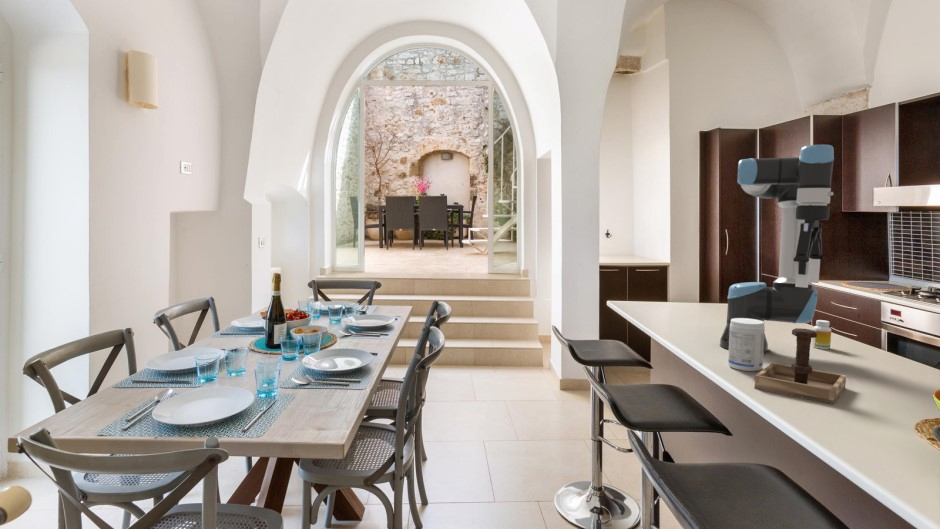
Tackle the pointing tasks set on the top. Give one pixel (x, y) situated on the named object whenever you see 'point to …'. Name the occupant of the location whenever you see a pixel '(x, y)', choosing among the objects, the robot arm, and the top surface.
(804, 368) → the bolt
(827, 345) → the supplement bottle
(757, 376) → the tray
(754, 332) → the supplement tub
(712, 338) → the top surface
